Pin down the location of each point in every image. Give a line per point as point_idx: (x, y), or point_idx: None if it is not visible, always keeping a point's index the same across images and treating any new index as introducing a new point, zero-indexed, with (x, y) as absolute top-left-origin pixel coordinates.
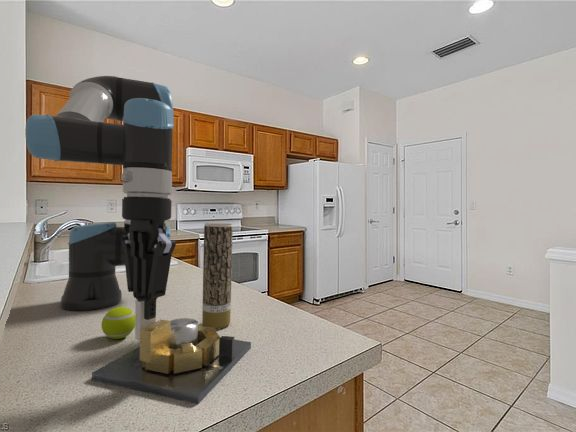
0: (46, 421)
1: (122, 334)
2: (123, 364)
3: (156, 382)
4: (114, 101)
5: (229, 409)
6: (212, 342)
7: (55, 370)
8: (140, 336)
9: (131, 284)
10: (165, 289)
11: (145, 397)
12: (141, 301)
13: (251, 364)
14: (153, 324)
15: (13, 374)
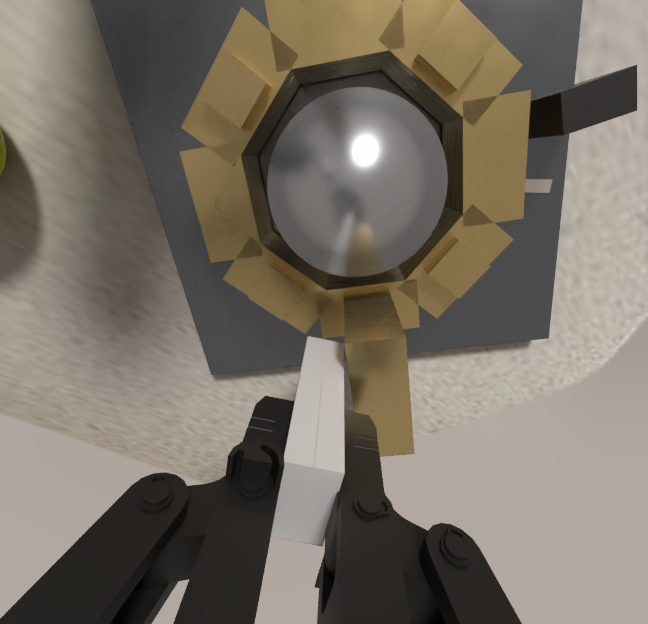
0: None
1: (4, 160)
2: (238, 313)
3: None
4: None
5: (626, 313)
6: (519, 151)
7: (96, 372)
8: None
9: (157, 608)
10: (501, 592)
11: None
12: (322, 535)
13: (626, 48)
14: (364, 401)
15: (48, 417)
